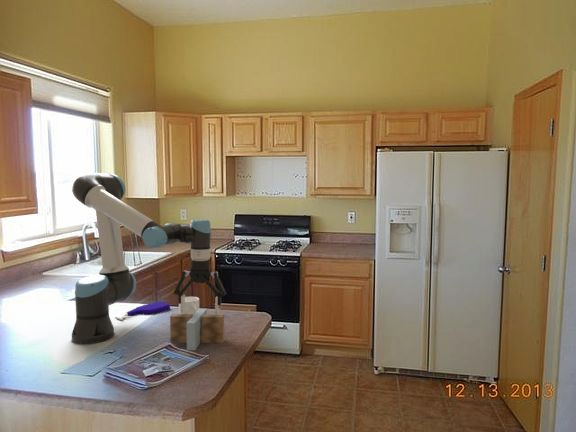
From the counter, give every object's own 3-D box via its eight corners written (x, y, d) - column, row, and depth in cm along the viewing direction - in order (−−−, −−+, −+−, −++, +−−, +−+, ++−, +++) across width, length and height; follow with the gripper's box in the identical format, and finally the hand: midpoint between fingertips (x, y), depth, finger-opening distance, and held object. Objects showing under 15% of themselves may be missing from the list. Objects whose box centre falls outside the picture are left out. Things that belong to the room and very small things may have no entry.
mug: (188, 330, 172) (188, 304, 171) (175, 323, 181) (175, 298, 180) (207, 326, 177) (206, 301, 176) (193, 319, 186) (193, 295, 186)
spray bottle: (160, 300, 207) (111, 312, 189) (172, 304, 200) (122, 317, 182) (160, 306, 208) (111, 318, 190) (172, 310, 200) (122, 323, 182)
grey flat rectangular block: (186, 350, 151) (186, 323, 150) (199, 332, 169) (199, 308, 168) (195, 350, 151) (194, 323, 150) (207, 333, 168) (206, 308, 168)
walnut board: (170, 342, 159) (170, 316, 158) (173, 339, 162) (172, 313, 161) (222, 343, 158) (222, 317, 157) (224, 340, 161) (224, 314, 160)
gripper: (165, 259, 160) (165, 313, 161) (230, 262, 159) (229, 316, 160) (172, 256, 167) (171, 308, 169) (233, 258, 166) (232, 310, 168)
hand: (199, 312), depth 165 cm, fingers open, 13 cm apart
